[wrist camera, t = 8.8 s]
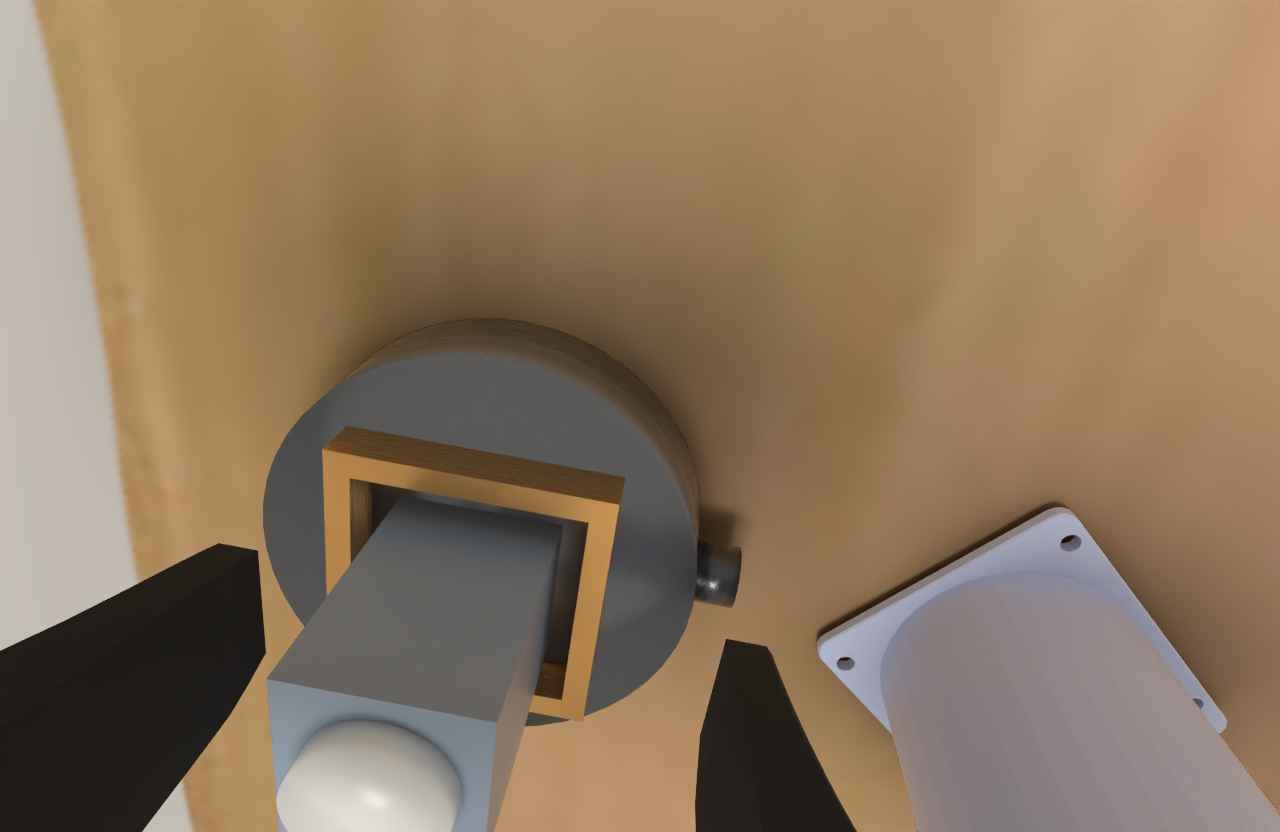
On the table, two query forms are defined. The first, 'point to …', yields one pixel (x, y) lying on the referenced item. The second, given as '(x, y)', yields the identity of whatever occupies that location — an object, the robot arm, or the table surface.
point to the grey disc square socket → (511, 490)
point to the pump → (415, 675)
